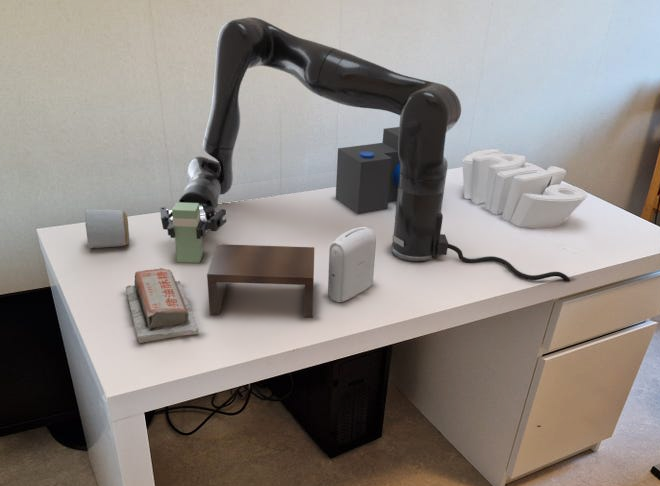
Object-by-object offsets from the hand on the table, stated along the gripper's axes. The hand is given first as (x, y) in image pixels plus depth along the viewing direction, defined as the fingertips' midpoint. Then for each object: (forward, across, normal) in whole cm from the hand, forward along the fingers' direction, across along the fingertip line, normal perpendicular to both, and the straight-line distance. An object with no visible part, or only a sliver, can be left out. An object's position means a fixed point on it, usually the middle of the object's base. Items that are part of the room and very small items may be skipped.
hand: (185, 233), depth 128 cm
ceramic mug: (-9, -18, +7) cm, 21 cm away
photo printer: (+9, +32, +7) cm, 34 cm away
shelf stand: (+13, +16, +6) cm, 22 cm away
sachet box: (-3, 0, +6) cm, 7 cm away
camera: (-37, +45, +6) cm, 58 cm away
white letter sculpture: (-37, +74, +6) cm, 83 cm away
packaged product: (+19, -1, +7) cm, 20 cm away
